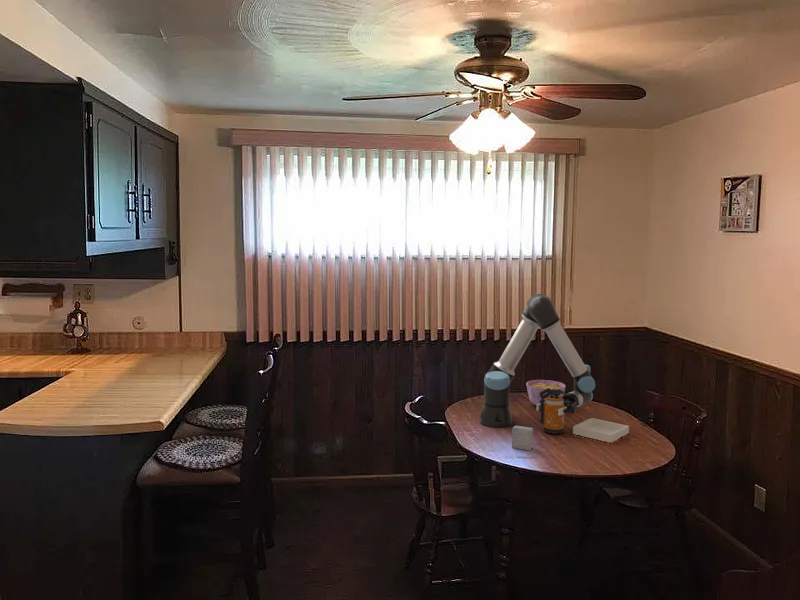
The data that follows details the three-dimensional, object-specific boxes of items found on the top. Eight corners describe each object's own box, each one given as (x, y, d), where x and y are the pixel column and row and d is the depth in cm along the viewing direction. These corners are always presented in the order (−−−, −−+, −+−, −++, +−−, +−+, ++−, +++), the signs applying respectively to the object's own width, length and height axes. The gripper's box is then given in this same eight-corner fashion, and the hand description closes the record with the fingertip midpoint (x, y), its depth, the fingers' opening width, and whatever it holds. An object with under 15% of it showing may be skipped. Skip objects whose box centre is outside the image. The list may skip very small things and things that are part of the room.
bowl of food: (518, 407, 340) (519, 385, 338) (534, 399, 356) (535, 378, 355) (556, 414, 328) (557, 391, 327) (570, 405, 345) (571, 383, 343)
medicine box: (532, 447, 278) (533, 427, 277) (530, 451, 274) (530, 430, 273) (514, 445, 281) (515, 425, 280) (511, 448, 277) (512, 428, 276)
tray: (611, 444, 284) (611, 435, 283) (572, 434, 296) (573, 426, 295) (628, 434, 297) (629, 425, 297) (591, 426, 309) (591, 417, 309)
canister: (564, 435, 294) (565, 391, 292) (538, 434, 296) (539, 390, 294) (563, 429, 303) (564, 386, 301) (538, 428, 305) (539, 385, 303)
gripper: (593, 413, 304) (570, 423, 288) (549, 403, 319) (525, 413, 303) (594, 397, 304) (571, 406, 287) (550, 388, 319) (526, 397, 302)
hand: (547, 410), depth 295 cm, fingers closed on canister, 10 cm apart
